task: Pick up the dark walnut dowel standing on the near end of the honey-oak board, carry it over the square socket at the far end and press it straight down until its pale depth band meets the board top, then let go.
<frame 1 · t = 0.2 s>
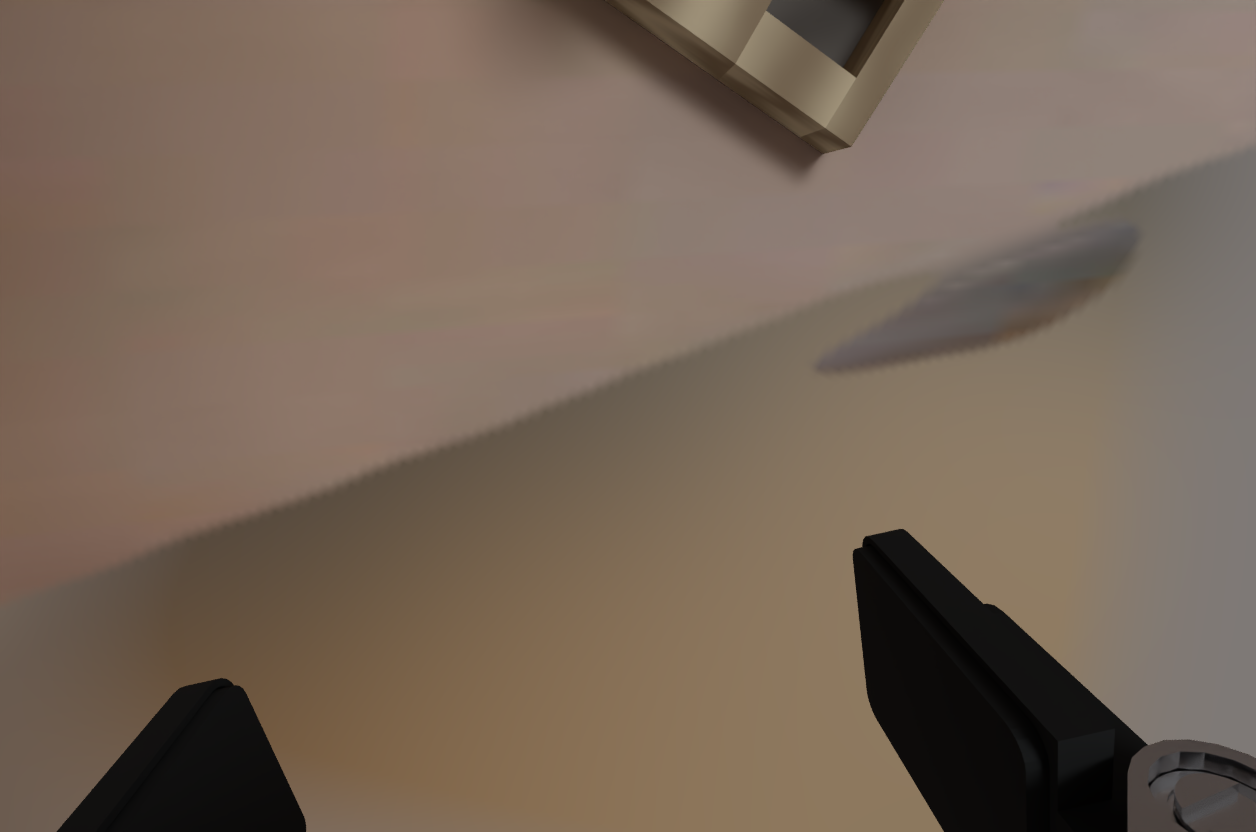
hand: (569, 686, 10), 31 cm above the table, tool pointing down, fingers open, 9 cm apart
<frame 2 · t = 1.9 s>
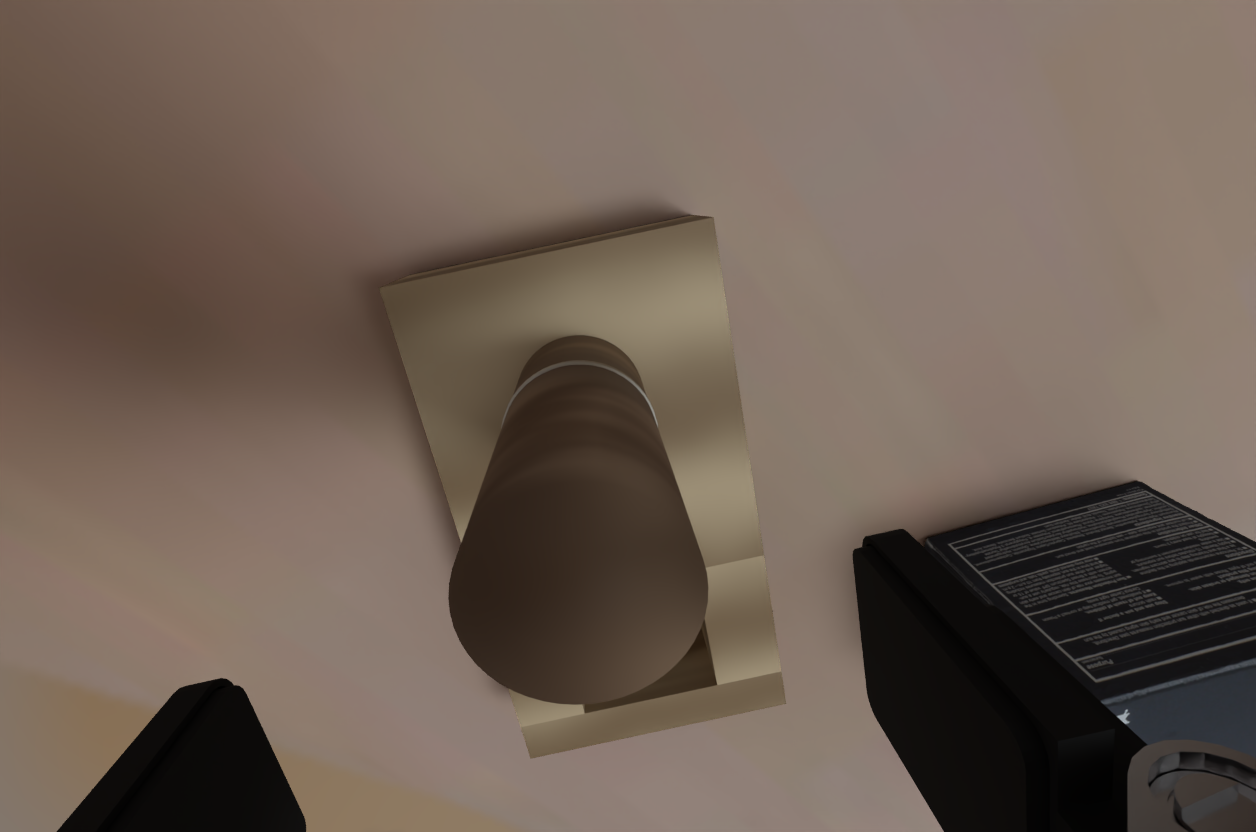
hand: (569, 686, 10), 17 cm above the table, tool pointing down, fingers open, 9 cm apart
peg: (580, 397, 22), point 4 cm above the table, touching board
board: (605, 480, 28), on the table
small box: (1031, 562, 31), on the table
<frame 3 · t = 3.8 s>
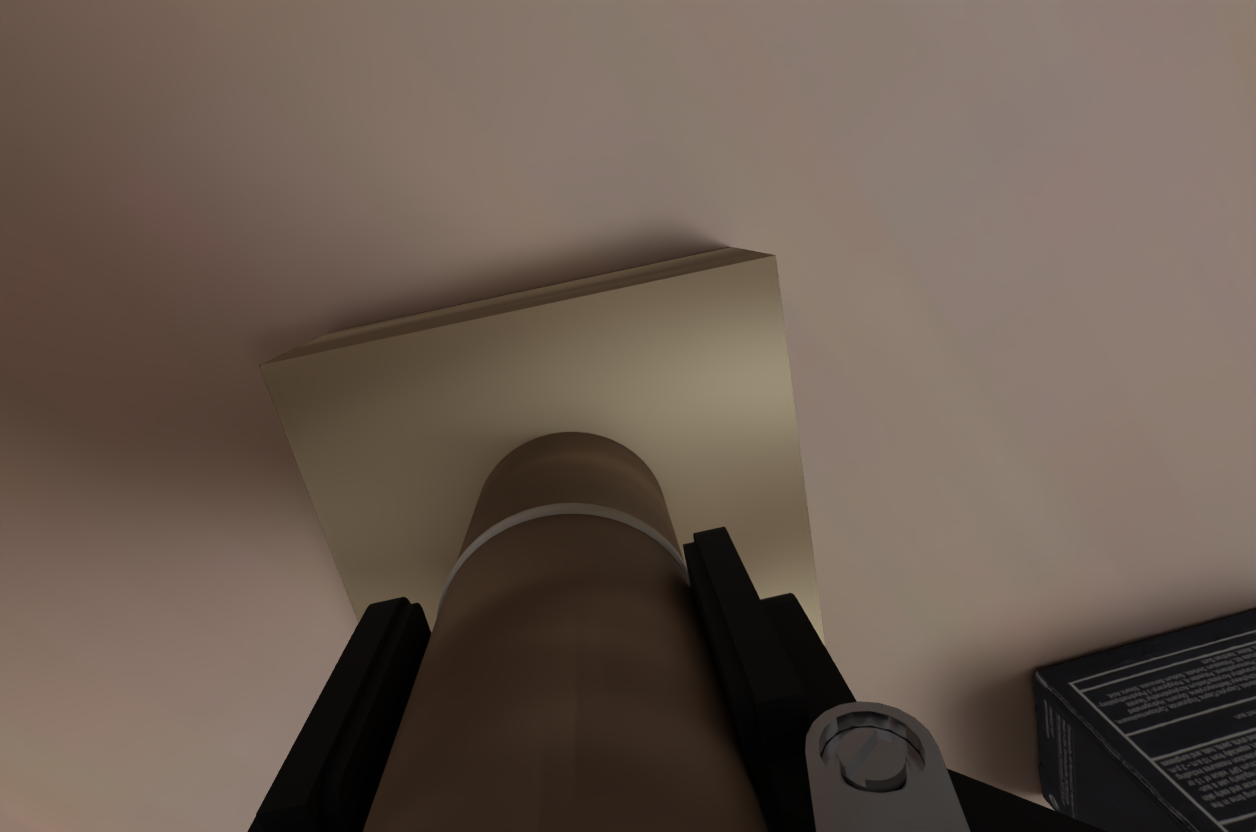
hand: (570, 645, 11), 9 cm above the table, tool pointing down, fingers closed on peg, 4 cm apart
peg: (572, 521, 15), point 4 cm above the table, touching board, gripper
board: (608, 604, 20), on the table
small box: (1167, 696, 24), on the table
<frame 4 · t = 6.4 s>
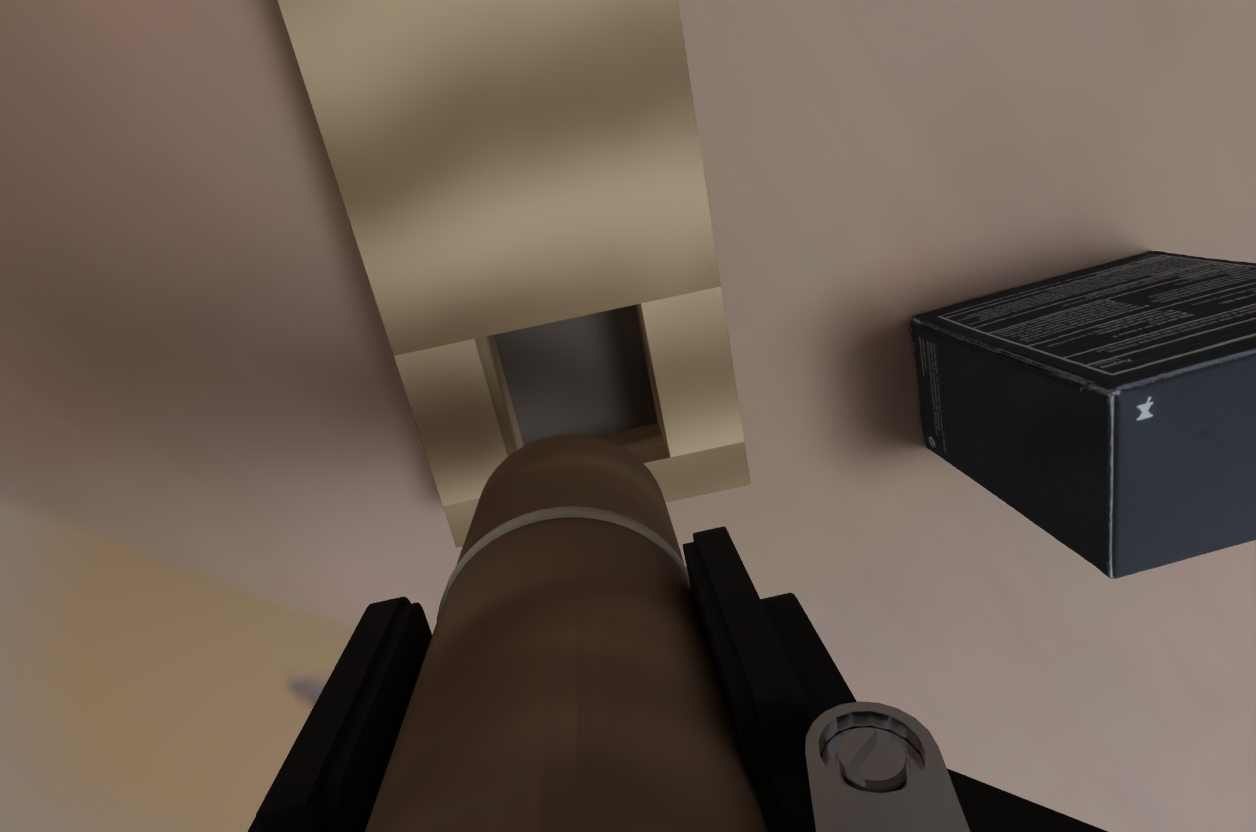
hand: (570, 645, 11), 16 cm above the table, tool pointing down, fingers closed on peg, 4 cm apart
peg: (572, 524, 15), point 12 cm above the table, touching gripper
board: (544, 232, 24), on the table
small box: (1031, 355, 27), on the table
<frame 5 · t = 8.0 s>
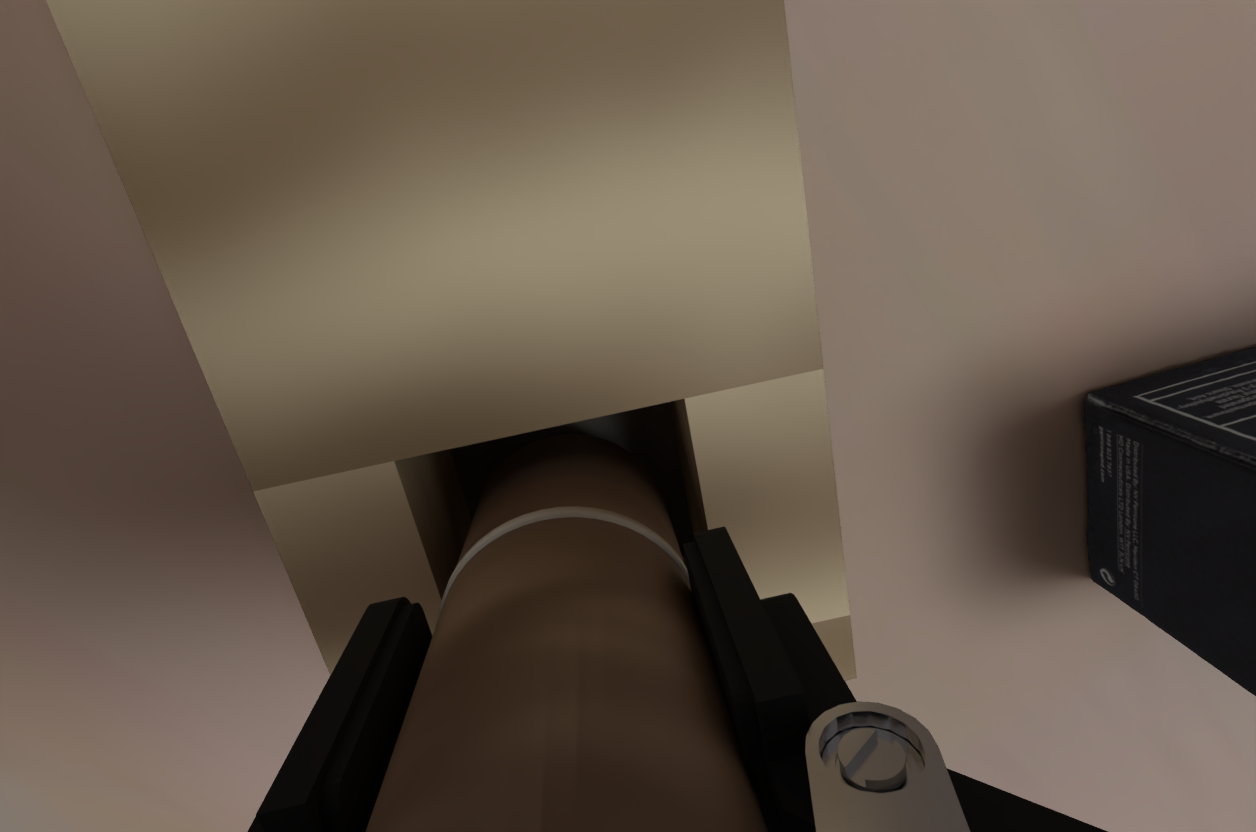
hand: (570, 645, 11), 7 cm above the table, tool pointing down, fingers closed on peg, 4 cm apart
peg: (572, 524, 15), point 2 cm above the table, touching gripper
board: (521, 268, 15), on the table
small box: (1251, 445, 18), on the table
when the fingers open (6 cm above the table, at t = 9.2 s): peg stays where it is, resting on board.
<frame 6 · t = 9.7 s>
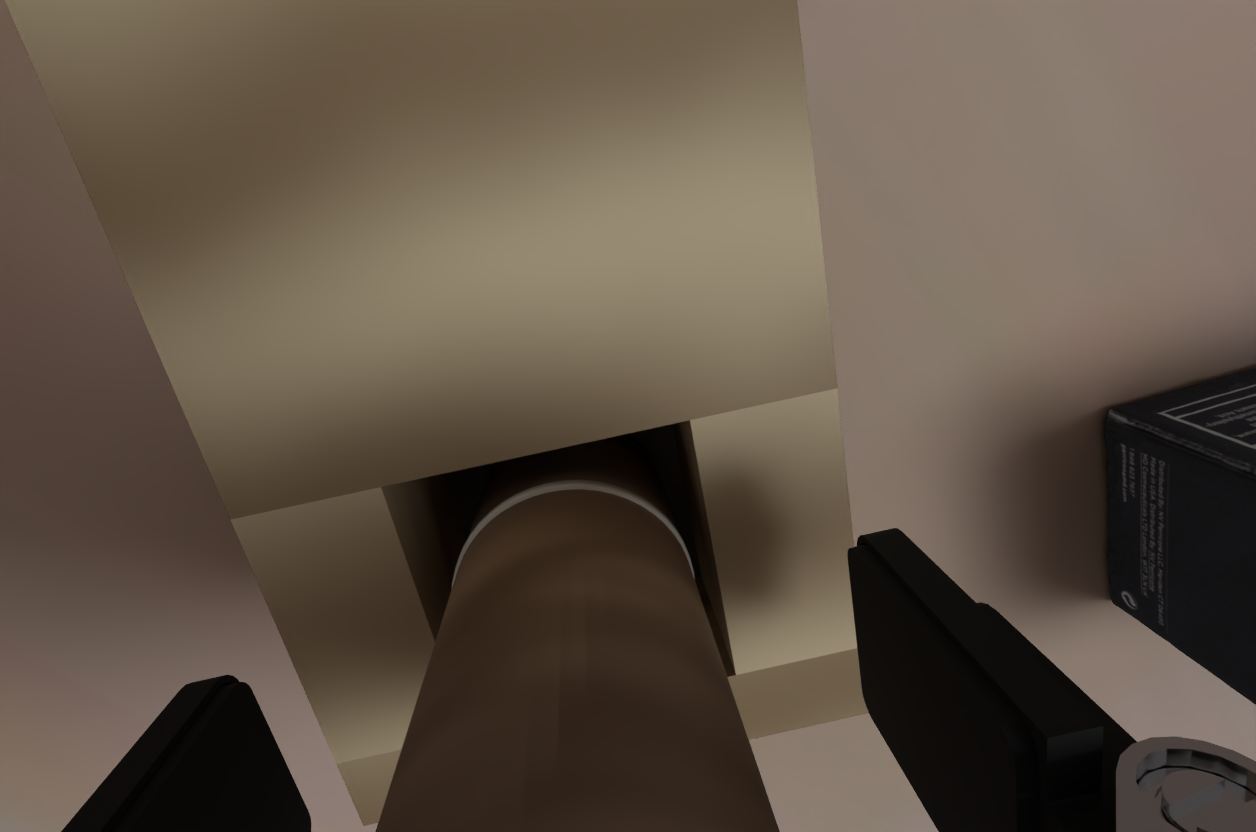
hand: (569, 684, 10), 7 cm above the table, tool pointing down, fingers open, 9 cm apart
peg: (574, 502, 16), resting on board
board: (517, 280, 14), on the table
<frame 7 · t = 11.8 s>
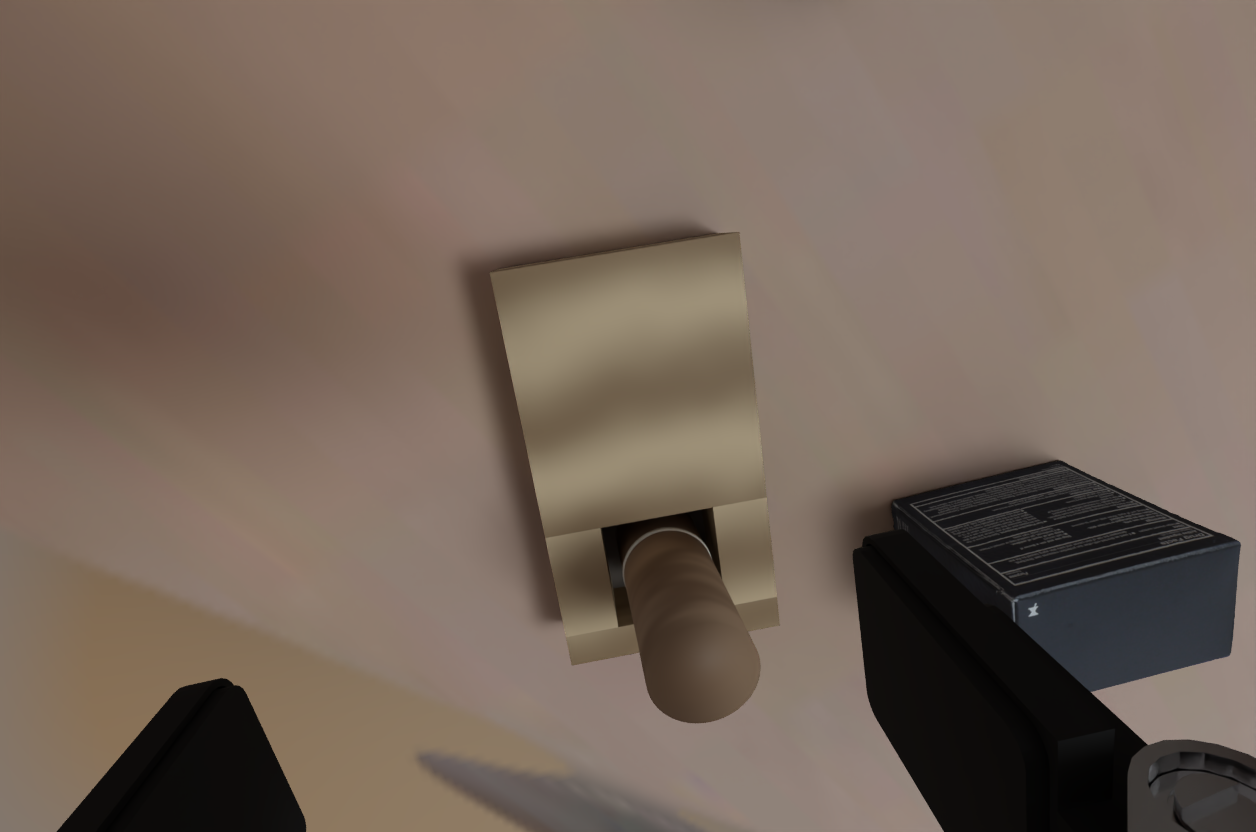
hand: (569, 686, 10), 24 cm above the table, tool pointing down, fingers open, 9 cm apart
peg: (655, 534, 36), resting on board
board: (639, 441, 35), on the table
small box: (976, 526, 38), on the table
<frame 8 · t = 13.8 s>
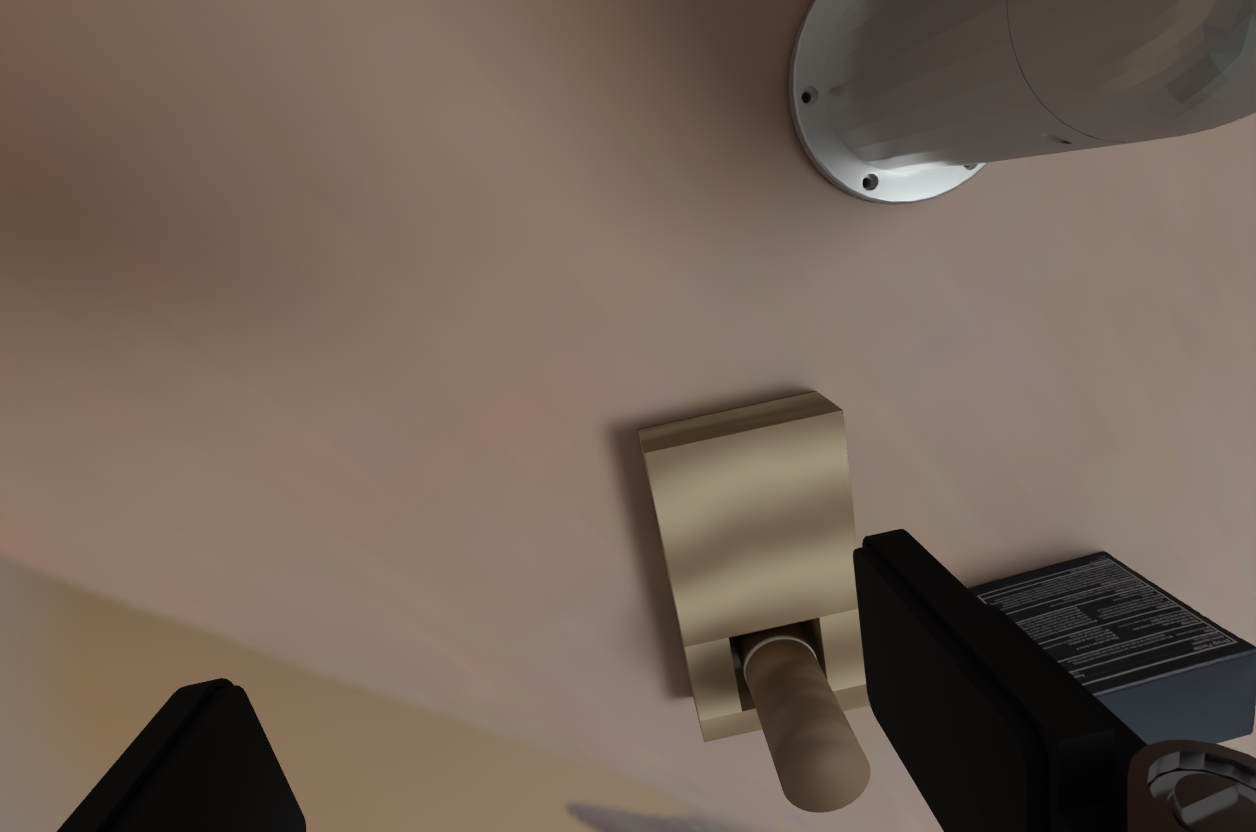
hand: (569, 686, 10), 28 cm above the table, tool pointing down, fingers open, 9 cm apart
peg: (763, 627, 43), resting on board
board: (750, 555, 42), on the table
small box: (1033, 606, 45), on the table
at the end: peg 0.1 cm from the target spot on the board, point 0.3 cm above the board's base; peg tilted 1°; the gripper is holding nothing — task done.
